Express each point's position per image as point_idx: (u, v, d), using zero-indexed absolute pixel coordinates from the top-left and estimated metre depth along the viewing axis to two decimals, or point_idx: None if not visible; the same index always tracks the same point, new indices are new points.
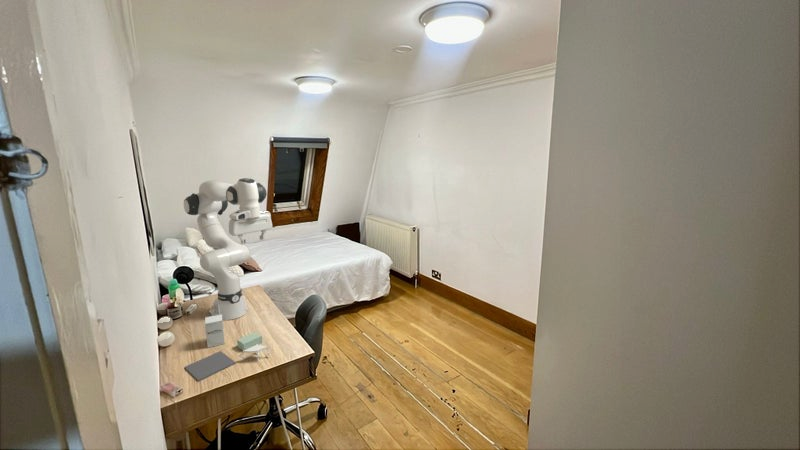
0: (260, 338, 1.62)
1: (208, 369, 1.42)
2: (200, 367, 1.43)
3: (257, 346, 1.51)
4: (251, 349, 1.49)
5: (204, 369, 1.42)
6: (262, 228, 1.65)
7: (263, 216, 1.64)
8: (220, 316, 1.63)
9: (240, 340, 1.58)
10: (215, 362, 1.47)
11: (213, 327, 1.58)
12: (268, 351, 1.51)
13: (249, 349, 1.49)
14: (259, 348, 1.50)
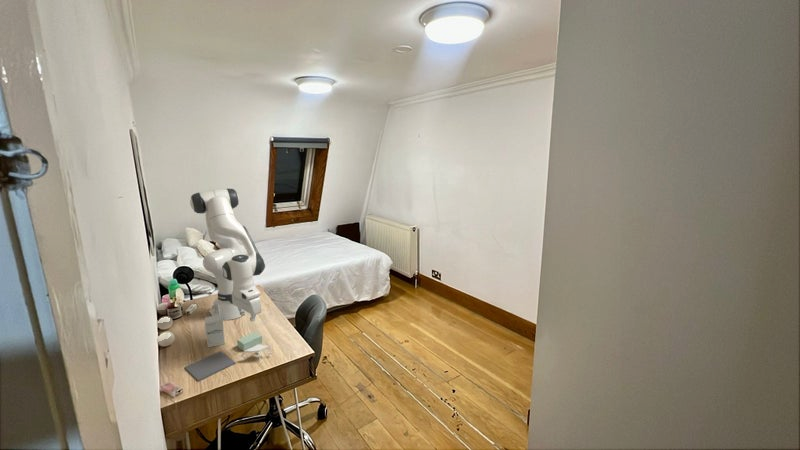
0: (260, 338, 1.62)
1: (208, 369, 1.42)
2: (200, 367, 1.43)
3: (258, 346, 1.52)
4: (252, 349, 1.49)
5: (204, 369, 1.42)
6: None
7: None
8: (220, 316, 1.63)
9: (240, 340, 1.58)
10: (215, 362, 1.47)
11: (213, 327, 1.58)
12: (270, 351, 1.52)
13: (250, 349, 1.49)
14: (260, 348, 1.50)
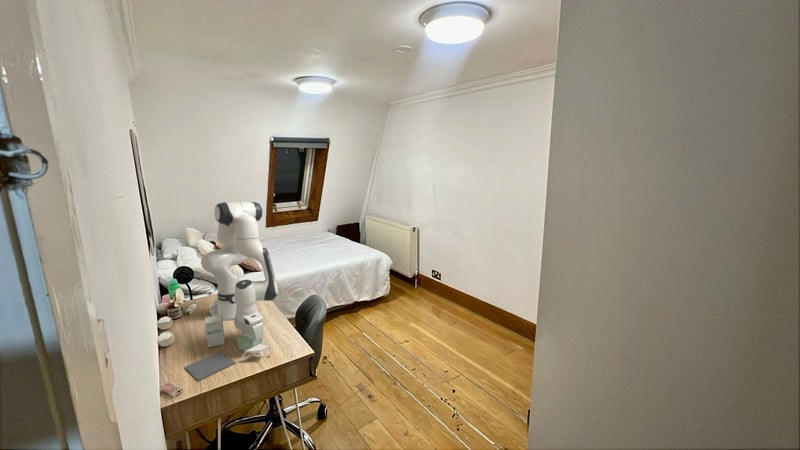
0: None
1: (208, 369, 1.42)
2: (200, 367, 1.43)
3: (259, 346, 1.52)
4: (254, 349, 1.49)
5: (204, 369, 1.42)
6: None
7: None
8: (220, 316, 1.63)
9: (240, 340, 1.58)
10: (215, 362, 1.47)
11: (213, 327, 1.58)
12: (271, 350, 1.52)
13: (252, 349, 1.49)
14: (262, 348, 1.50)
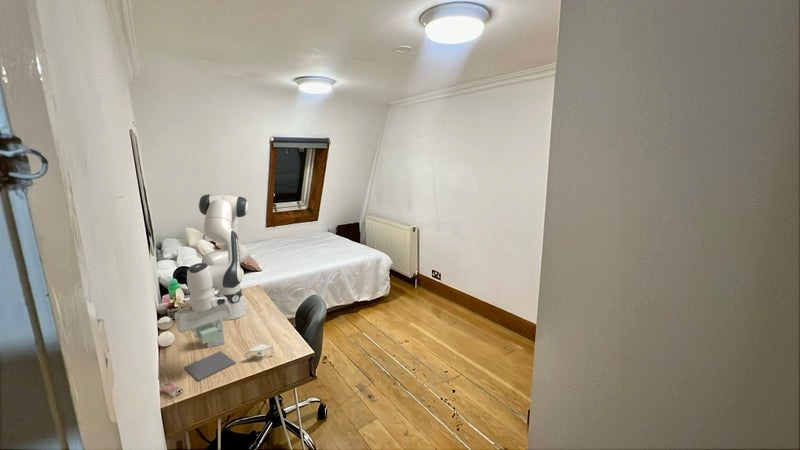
0: None
1: (208, 369, 1.42)
2: (200, 367, 1.43)
3: (261, 345, 1.52)
4: (256, 348, 1.50)
5: (204, 369, 1.42)
6: None
7: None
8: None
9: (206, 332, 1.39)
10: (215, 362, 1.47)
11: None
12: (273, 350, 1.52)
13: (254, 349, 1.50)
14: (264, 347, 1.51)
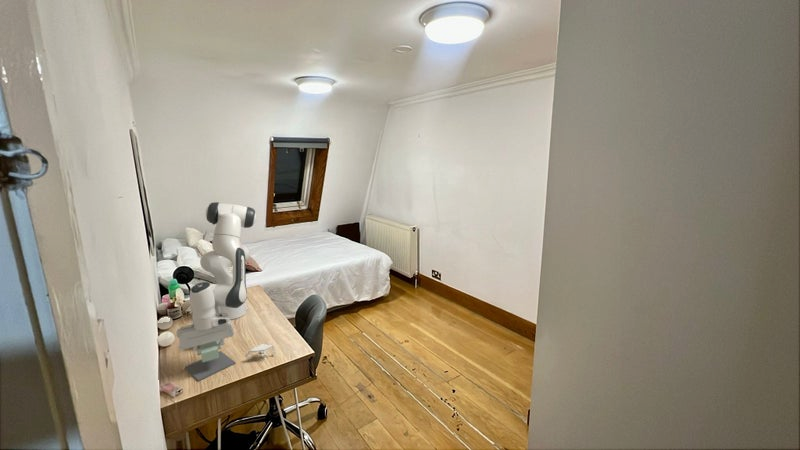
0: None
1: (208, 369, 1.42)
2: (200, 367, 1.43)
3: (263, 345, 1.52)
4: (257, 348, 1.50)
5: (204, 369, 1.42)
6: None
7: None
8: None
9: (206, 351, 1.40)
10: (215, 362, 1.47)
11: None
12: (274, 350, 1.52)
13: (255, 348, 1.50)
14: (265, 347, 1.51)
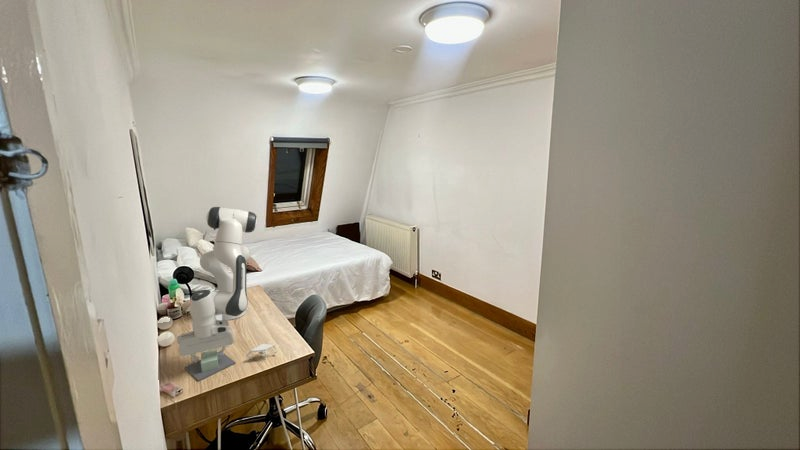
0: None
1: None
2: (200, 367, 1.43)
3: (264, 345, 1.52)
4: (258, 348, 1.50)
5: None
6: None
7: None
8: (220, 316, 1.63)
9: (206, 361, 1.41)
10: None
11: None
12: (275, 349, 1.53)
13: (256, 348, 1.50)
14: (266, 347, 1.51)
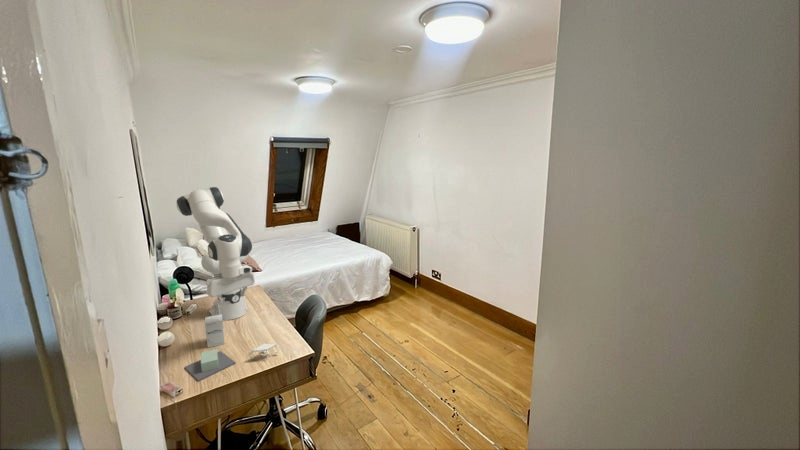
0: None
1: None
2: (200, 367, 1.43)
3: (265, 345, 1.52)
4: (260, 348, 1.50)
5: None
6: None
7: None
8: (220, 316, 1.63)
9: (206, 361, 1.41)
10: None
11: (213, 327, 1.58)
12: (277, 349, 1.53)
13: (258, 348, 1.50)
14: (268, 346, 1.51)
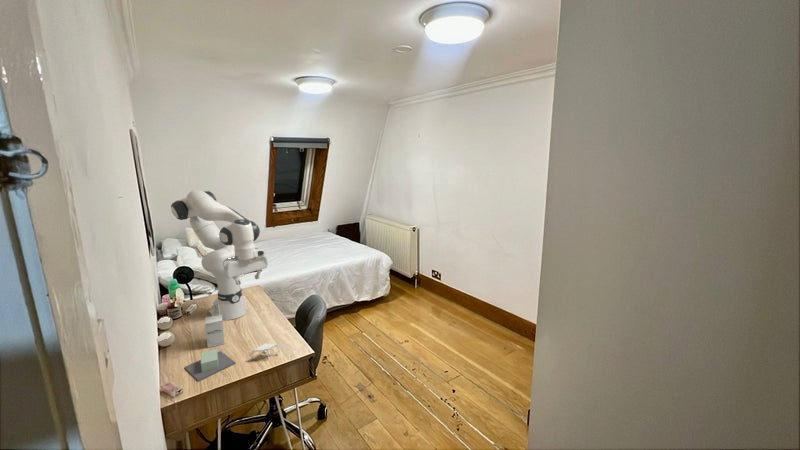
0: None
1: None
2: (200, 367, 1.43)
3: (266, 345, 1.53)
4: (261, 348, 1.50)
5: None
6: None
7: None
8: (220, 316, 1.63)
9: (206, 361, 1.41)
10: None
11: (213, 327, 1.58)
12: (278, 349, 1.53)
13: (259, 348, 1.50)
14: (269, 346, 1.51)
